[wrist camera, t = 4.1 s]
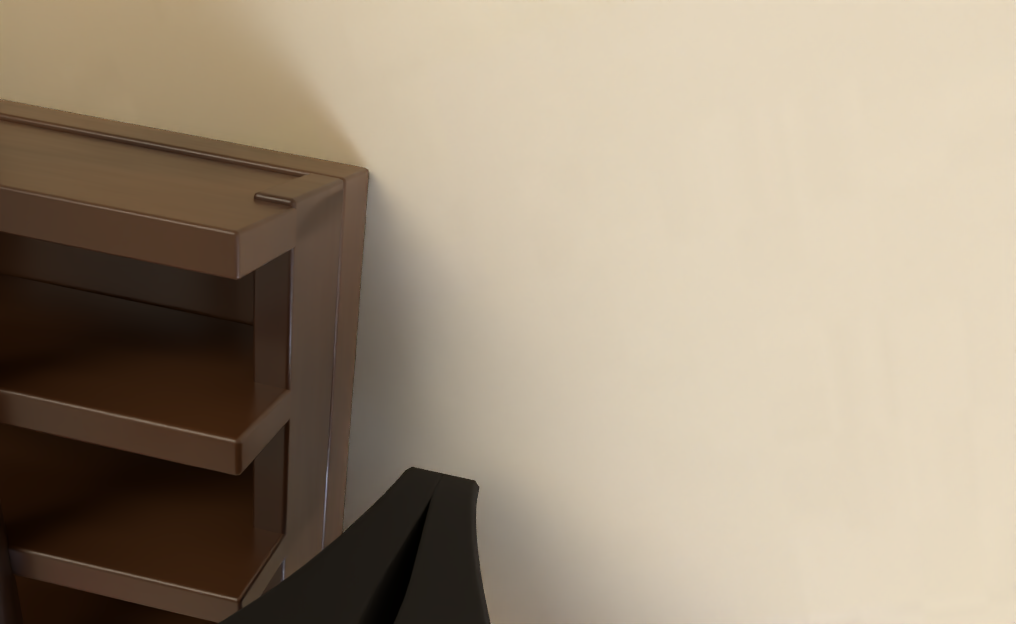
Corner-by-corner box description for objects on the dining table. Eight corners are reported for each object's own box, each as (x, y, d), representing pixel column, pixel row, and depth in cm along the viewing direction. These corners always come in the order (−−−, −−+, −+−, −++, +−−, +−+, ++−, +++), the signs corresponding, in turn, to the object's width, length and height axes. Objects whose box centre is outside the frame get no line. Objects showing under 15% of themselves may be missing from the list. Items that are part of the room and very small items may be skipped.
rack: (370, 167, 11) (206, 236, 6) (335, 645, 15) (223, 892, 11) (-47, 89, 11) (-488, 99, 7) (37, 575, 16) (-192, 782, 11)
